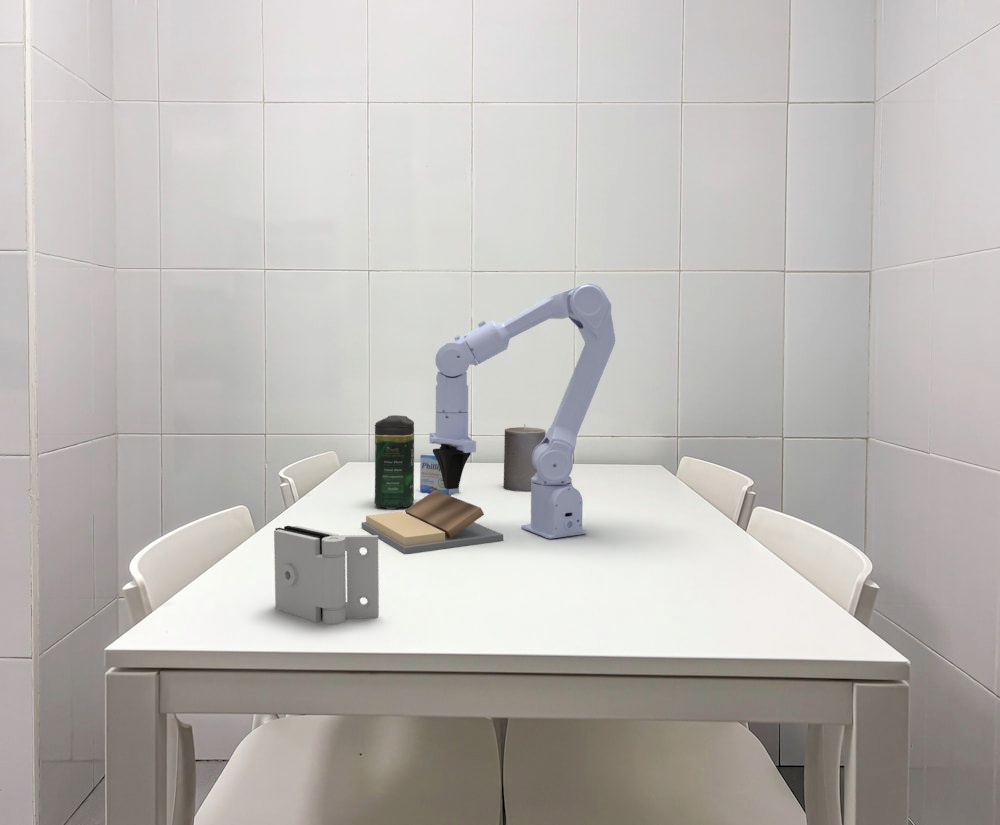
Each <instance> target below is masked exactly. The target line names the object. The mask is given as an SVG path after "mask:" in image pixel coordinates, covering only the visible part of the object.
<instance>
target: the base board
mask: <svg viewBox="0 0 1000 825" xmlns="http://www.w3.org/2000/svg"><path fill="white" fill-rule="evenodd" d="M361 529H362V530H365V531H366V532H368V534H371V535H378V540H381V541H383V542H384V543H386V544H388V545H389V546H390V547H392V548H395V549H396V550H397V551H399V552H401V553H402V554H404V555H408V554H415V553H423V552H428V551H429V552H430V551H437V550H443V549H451V548H460V547H466V546H473V545H480V544H487V543H494V542H502V541H504V534H503V533H500V532H498V531H495V530H493V529H491V528H489V527H486V526H484V525H481V524H480V523H477V522H476V521H475V522H473V523H472V524H470V525H469V526H468V527H466V528H465V529H463V530H462V531H461V532H459V533H458V534H456V535H455V536H453V537H452V538H450V537H448V536H446V535H445V532H443V531H441V530H439V529H437V528H435V527H433V526H431V525H429V524H427V523H425V522H423V521H421V520H419V519H416V518H414V517H412V516H410V515H408V514H406V512H405V511H397V512H388V513H377V514H376V513H375V514H368V515H367V514H366V515H365V521H362V522H361Z"/></svg>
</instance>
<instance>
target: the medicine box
mask: <svg viewBox="0 0 1000 825" xmlns="http://www.w3.org/2000/svg"><path fill="white" fill-rule="evenodd" d="M419 457H420V460H419V461H420V466H419V468H420V470H419V473H420V474H419V477H420V478H419V492H420V493H424V494H430V493H432V492H433V491H435V490H436V491H439V492H441V493H444V494H447V495H449V496H452V495H456V494H458V493H459V492H460V486H459V487H458V488H457V489H446V488H445V487H444V483H443V478H442V474H441V470H440V467H439V464H438V461H437V459H436V457H435V455H434V453H433V452H426V453H422V454H420V456H419Z"/></svg>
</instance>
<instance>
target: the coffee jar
mask: <svg viewBox="0 0 1000 825" xmlns="http://www.w3.org/2000/svg"><path fill="white" fill-rule="evenodd" d="M414 425H415V423H414V420H412V419H410V418H409V417H408V416H407V415H395V414H394V415H388V416H387V417H385V418H382V419H380V420H378V421H376V422H375V424H374V450H375V451H374V504H375V506H376V507H378V508H380V507H381V508H386V509H391V510H396V509H398V508H407V507H408V508H409V507H411V506H412V505H413V504H414V503H413V502H414V499H415V487H414V486H415V485H414V483H415V481H414V480H415V426H414Z"/></svg>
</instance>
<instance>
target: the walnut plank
mask: <svg viewBox="0 0 1000 825" xmlns="http://www.w3.org/2000/svg"><path fill="white" fill-rule="evenodd" d="M404 513H406V514H408V515H410V516H412V517H414V518H416V519H419V520H421V521H423V522H425V523H427V524H429V525H431V526H433V527H435V528H437V529H439V530H441V531H443V532H445V535H446V536H448V537H450V538H452V537H453V536H455V535H456V534H458V533H459V532H461V531H462V530H463V529H465V528H466V527H468V526H469V525H470V524H472V523H473V522H475V523H476V521H477V520H479V519H480V518H482V517H483V516H484V515H485V513H484V511H483V509H482V507H480V506H477V505H475V504H472V503H469V502H467V501H464V500H462V499H459V498H457V497H454V496H452V495H447V494H444V493H441V492H439V491H436V490H435V491H433V492H432V493H428V494H427V495H426V496H424V497H423V498H421V499H420V500H418V501H417V502H415V503H413V504H411V505H410V506H408V508H406V509H404Z"/></svg>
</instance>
